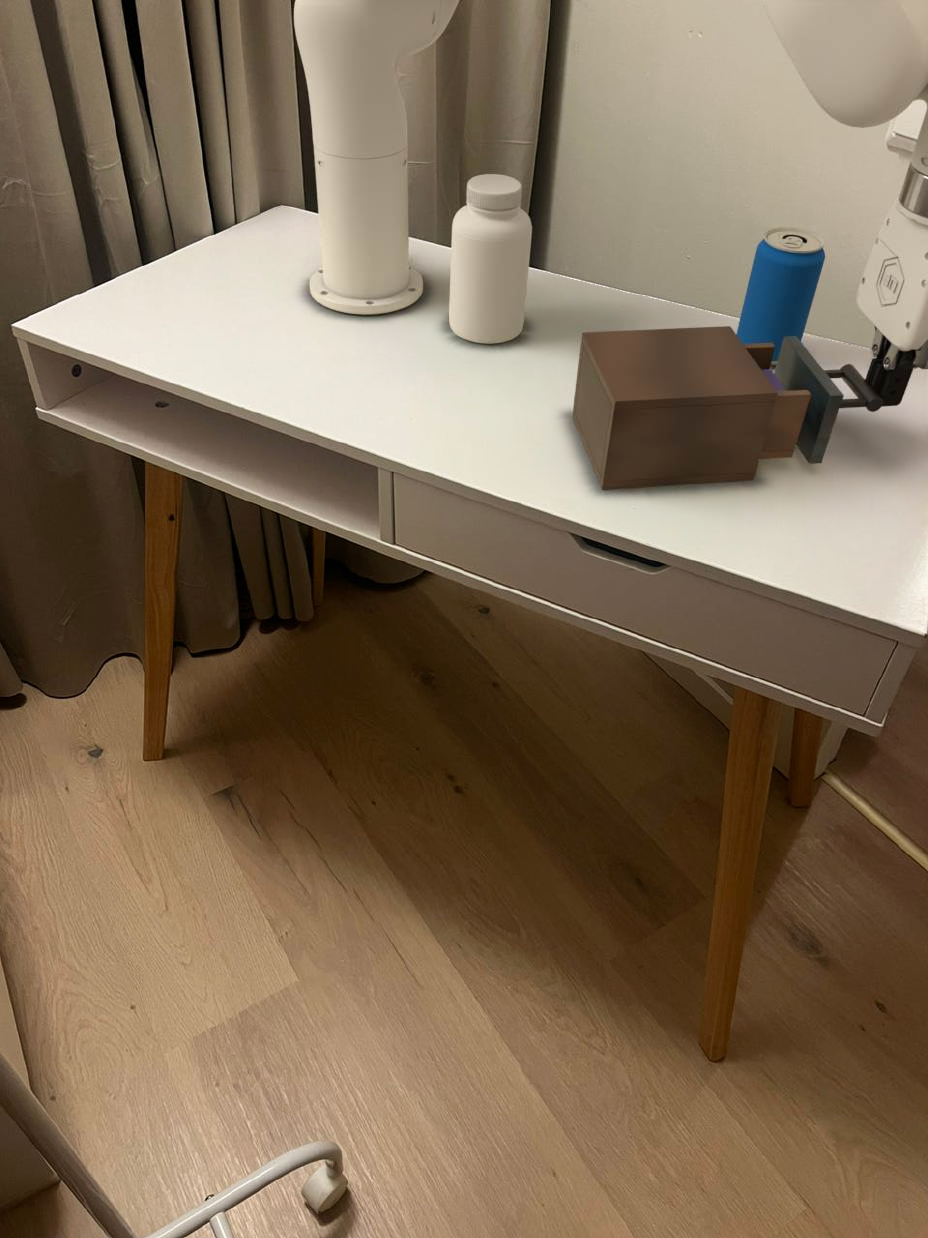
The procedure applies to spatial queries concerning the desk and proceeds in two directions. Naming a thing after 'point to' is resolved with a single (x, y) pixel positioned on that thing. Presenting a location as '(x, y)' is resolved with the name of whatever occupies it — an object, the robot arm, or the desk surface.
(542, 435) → the desk surface
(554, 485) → the desk surface
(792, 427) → the drawer
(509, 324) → the pill bottle
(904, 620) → the desk surface
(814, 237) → the beverage can
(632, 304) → the desk surface
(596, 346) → the wooden drawer cabinet
